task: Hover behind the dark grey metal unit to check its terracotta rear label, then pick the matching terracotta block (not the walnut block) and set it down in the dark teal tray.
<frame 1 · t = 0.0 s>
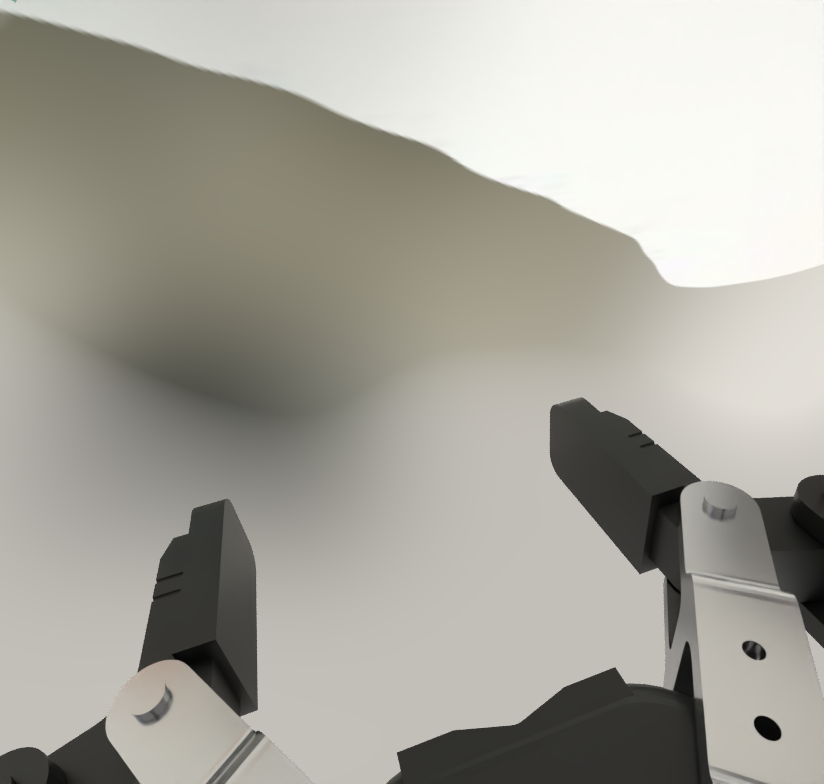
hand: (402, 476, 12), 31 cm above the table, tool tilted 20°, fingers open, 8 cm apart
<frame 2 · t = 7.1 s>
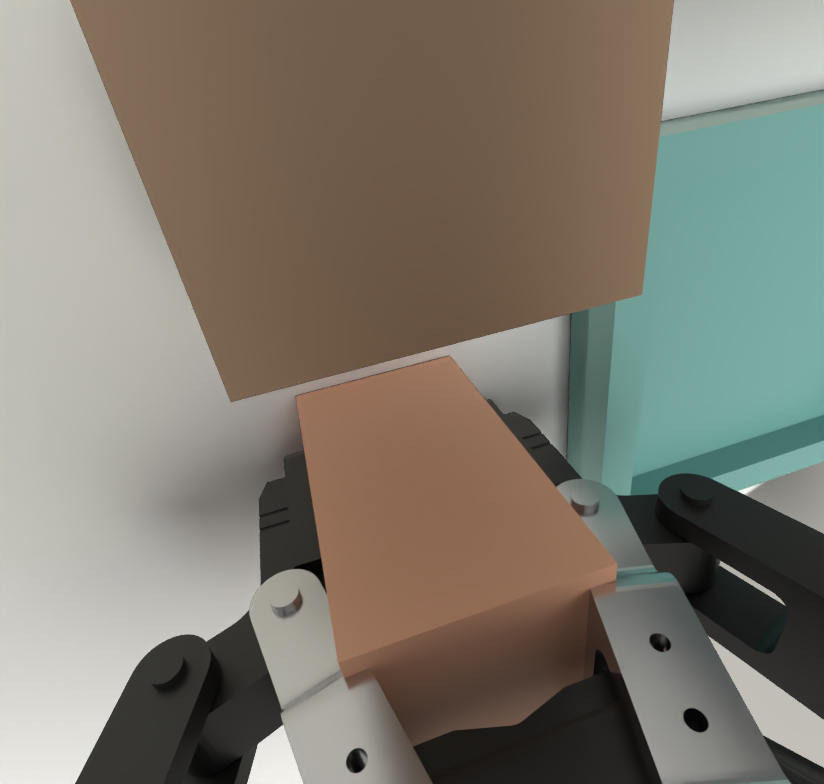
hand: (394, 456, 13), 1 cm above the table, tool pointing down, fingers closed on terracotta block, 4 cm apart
walnut block: (314, 101, 9), on the table
teal tray: (737, 310, 15), on the table
terracotta block: (387, 438, 14), on the table, touching gripper
when the fingers open (3 cm above the table, at t = 12.2 s): terracotta block drops 2 cm, resting on teal tray.
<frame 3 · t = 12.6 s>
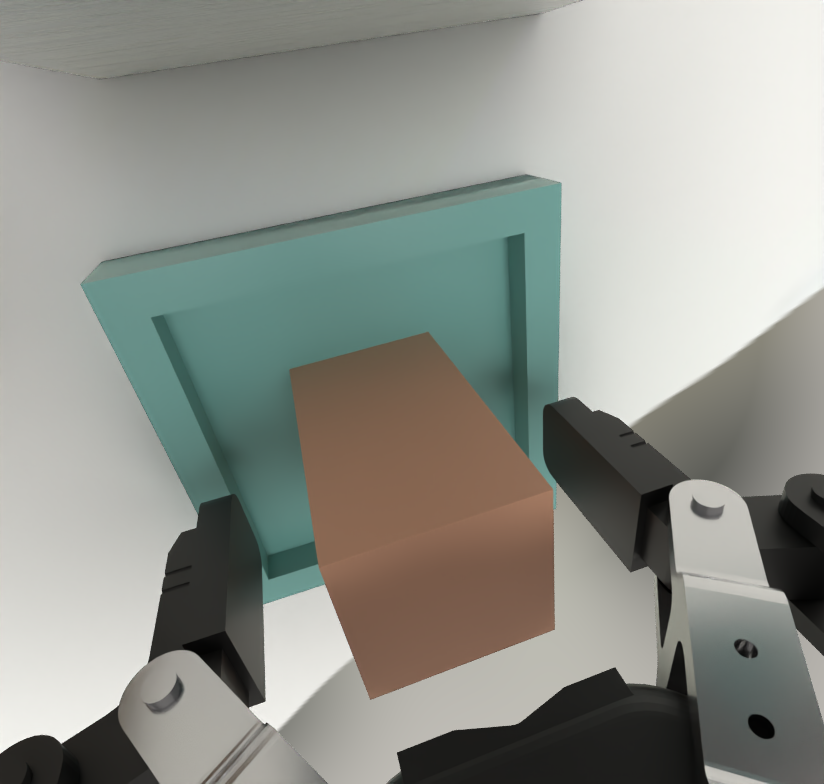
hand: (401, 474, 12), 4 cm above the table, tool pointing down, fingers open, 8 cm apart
teal tray: (369, 395, 16), on the table
terracotta block: (374, 408, 15), point 1 cm above the table, touching teal tray
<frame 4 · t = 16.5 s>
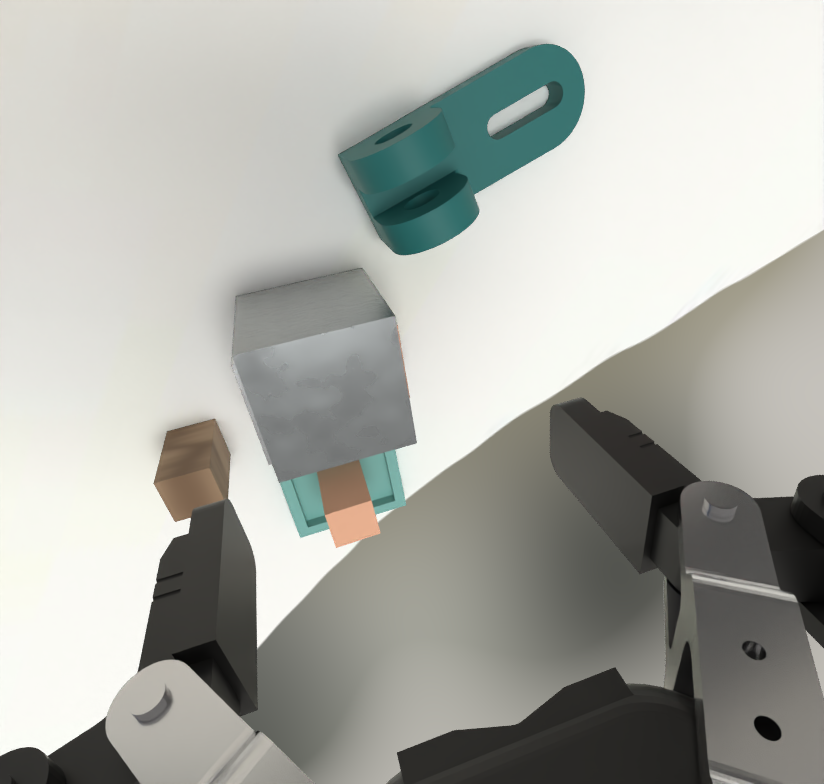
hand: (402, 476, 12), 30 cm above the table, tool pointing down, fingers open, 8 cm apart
walnut block: (199, 443, 44), on the table
bracket: (462, 138, 38), on the table
grey unit: (315, 338, 42), on the table
teal tray: (339, 468, 49), on the table
terracotta block: (341, 474, 48), point 1 cm above the table, touching teal tray
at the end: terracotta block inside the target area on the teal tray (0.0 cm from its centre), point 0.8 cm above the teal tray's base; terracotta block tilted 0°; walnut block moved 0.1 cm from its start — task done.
